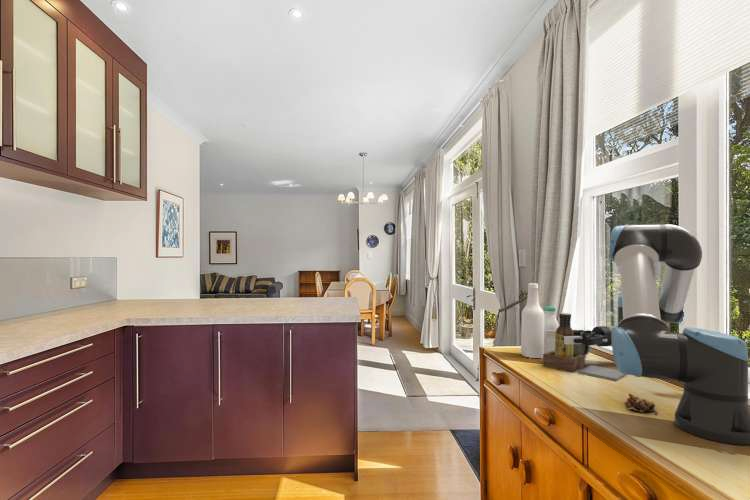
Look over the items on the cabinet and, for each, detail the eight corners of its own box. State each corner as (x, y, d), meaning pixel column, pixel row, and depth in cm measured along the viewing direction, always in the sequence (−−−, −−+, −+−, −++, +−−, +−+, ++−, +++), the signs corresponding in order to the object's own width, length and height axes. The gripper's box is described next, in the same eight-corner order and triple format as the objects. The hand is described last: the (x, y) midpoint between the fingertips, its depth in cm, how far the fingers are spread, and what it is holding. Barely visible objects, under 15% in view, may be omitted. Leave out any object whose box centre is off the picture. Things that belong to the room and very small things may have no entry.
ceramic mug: (583, 353, 173) (583, 335, 173) (590, 357, 165) (590, 339, 165) (557, 352, 175) (557, 334, 175) (562, 356, 167) (562, 338, 167)
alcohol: (517, 356, 165) (518, 283, 166) (525, 352, 172) (526, 282, 172) (539, 360, 159) (540, 284, 160) (547, 356, 166) (547, 283, 167)
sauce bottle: (550, 365, 152) (551, 312, 153) (563, 363, 155) (563, 311, 155) (564, 369, 146) (565, 314, 147) (577, 368, 149) (577, 314, 149)
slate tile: (616, 381, 133) (616, 378, 133) (578, 373, 142) (578, 370, 142) (627, 374, 141) (627, 372, 141) (590, 367, 150) (590, 365, 150)
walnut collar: (573, 372, 143) (573, 359, 143) (543, 366, 151) (543, 354, 151) (584, 367, 150) (584, 355, 150) (555, 361, 158) (555, 349, 158)
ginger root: (645, 401, 115) (645, 389, 115) (660, 417, 104) (659, 403, 104) (618, 398, 117) (618, 386, 117) (629, 413, 106) (629, 400, 106)
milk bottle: (562, 354, 170) (562, 307, 170) (555, 357, 164) (555, 308, 164) (543, 351, 175) (543, 305, 175) (536, 354, 169) (536, 306, 170)
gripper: (631, 353, 142) (575, 354, 138) (585, 339, 165) (536, 340, 161) (631, 332, 142) (575, 333, 138) (585, 321, 165) (536, 322, 162)
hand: (554, 337), depth 150 cm, fingers open, 11 cm apart
